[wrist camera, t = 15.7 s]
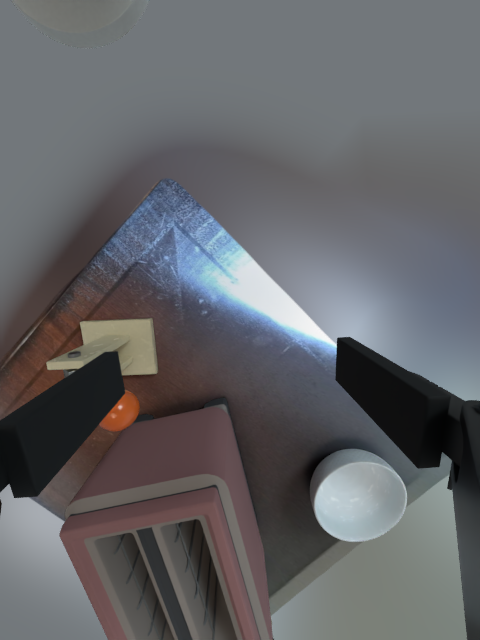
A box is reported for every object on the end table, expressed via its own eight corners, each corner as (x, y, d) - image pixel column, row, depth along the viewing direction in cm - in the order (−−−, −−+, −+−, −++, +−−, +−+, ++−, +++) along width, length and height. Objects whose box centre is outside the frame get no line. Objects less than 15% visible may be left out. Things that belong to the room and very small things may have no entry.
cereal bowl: (399, 469, 48) (427, 502, 41) (340, 518, 50) (356, 557, 43) (346, 419, 46) (366, 445, 39) (285, 472, 48) (294, 506, 41)
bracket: (152, 318, 41) (111, 339, 28) (158, 371, 43) (123, 415, 29) (84, 320, 41) (9, 343, 27) (93, 374, 43) (27, 419, 29)
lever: (144, 390, 21) (101, 407, 19) (148, 425, 22) (107, 446, 19) (88, 355, 32) (55, 363, 29) (92, 379, 33) (61, 389, 30)
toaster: (179, 554, 51) (142, 737, 31) (129, 410, 44) (40, 524, 24) (265, 537, 51) (284, 711, 31) (228, 389, 44) (221, 487, 24)
